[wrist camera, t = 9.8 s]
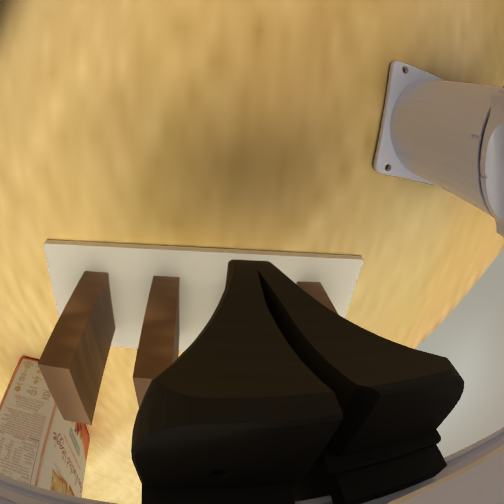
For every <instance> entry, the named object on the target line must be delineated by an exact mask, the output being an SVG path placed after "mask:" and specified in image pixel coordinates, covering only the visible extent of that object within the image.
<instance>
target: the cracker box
mask: <svg viewBox="0 0 504 504" xmlns="http://www.w3.org/2000/svg"><path fill="white" fill-rule="evenodd" d="M38 362H39V361H38V360H34V359H30V358H26V357H21V358H20V360H19V362H18V365H17V367H16V369H15V371H14V373H13V376H12V378H11V380H10V382H9V385H8V387H7V389H6V391H5V394H4V396H3V399H2V401H1V404H0V474H2V475H4V476H7V477H10V478H12V479H15V480H18V481H21V482H24V483H27V484H31V485H34V486H37V487H41V488H44V489H48V490H52V491H55V492H59V493H63V494H68V495H72V496H76V497H81V498H82V489H83V480H84V473H85V466H86V459H87V453H88V447H89V441H90V438H89V435H88V432H87V429H86V426H85V424H83V423H77V422H72V421H67V420H64V419H63V417H62V415H61V413H60V411H59V409H58V407H57V405H56V403H55V401H54V399H53V397H52V395H51V393H50V391H49V388H48V386H47V384H46V382H45V380H44V377H43V375H42V373H41V370H40V368H39V366H38Z"/></svg>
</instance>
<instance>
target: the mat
mask: <svg viewBox="0 0 504 504" xmlns="http://www.w3.org/2000/svg"><path fill="white" fill-rule="evenodd" d="M44 249H45V255H46V260H47V266H48V271H49V276H50V281H51V285H52V290H53V294H54V299H55V303H56V307H57V311H58V315H59V318H60V316H61V314H62V312H63V310H64V308H65V306H66V304H67V302H68V300H69V298H70V297H71V295H72V293H73V291H74V289H75V287H76V286H77V284H78V282H79V280H80V278H81V277H82V275H83V273H84V271H93V272H107V273H108V275H109V284H110V292H111V300H112V308H113V315H114V321H115V328H116V329H115V332H114V335H113V339H112V342H111V346H113V347H124V348H136V349H138V345H139V340H140V335H141V330H142V325H143V320H144V315H145V311H146V306H147V302H148V297H149V293H150V288H151V284H152V280H153V276H169V277H180V285H179V328H180V334H179V351H185V350H186V349H187V348H188V347H189V346H190V345H191V344H192V343H193V342H194V340H195V339H196V338H197V337H198V335H199V334H200V333H201V331H202V330H203V329H204V327H205V326H206V324H207V323H208V321H209V320H210V318H211V316H212V315H213V313H214V311H215V309H216V308H217V306H218V303H219V301H220V299H221V297H222V295H223V292H224V290H225V286H226V276H227V267H228V262H229V261H230V260H232V259H235V260H255V261H269V262H271V263H272V264H273V265H275V266H276V267H277V268H278V269H279V270H280V271H282V272H283V273H284V274H285V275H286V276H287V277H289V278H290V279H291V280H292V281H293V282H294V283H297V282H320V283H321V284H322V286H323V288H324V290H325V291H326V293H327V295H328V297H329V298H330V300H331V302H332V304H333V306H334V307H335V309H336V311H337V313H338V314H339V315H340V316H341V317H343V318H345V317H346V314H347V311H348V308H349V305H350V302H351V299H352V296H353V293H354V290H355V287H356V284H357V281H358V278H359V275H360V271H361V268H362V265H363V262H364V259H363V258H362V257H361V256H353V255H334V254H315V253H297V252H278V251H259V250H239V249H220V248H201V247H181V246H162V245H142V244H122V243H103V242H83V241H63V240H46V241H45V242H44Z"/></svg>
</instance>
